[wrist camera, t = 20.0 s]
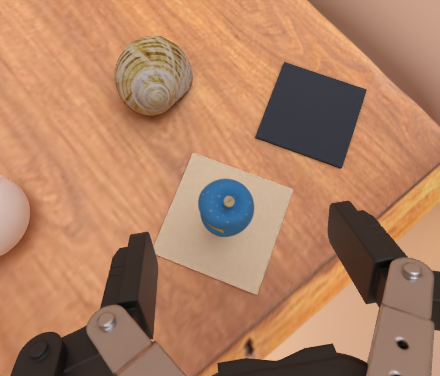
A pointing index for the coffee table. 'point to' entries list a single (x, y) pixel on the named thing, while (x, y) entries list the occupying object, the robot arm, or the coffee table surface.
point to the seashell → (152, 75)
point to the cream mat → (223, 246)
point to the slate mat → (312, 114)
